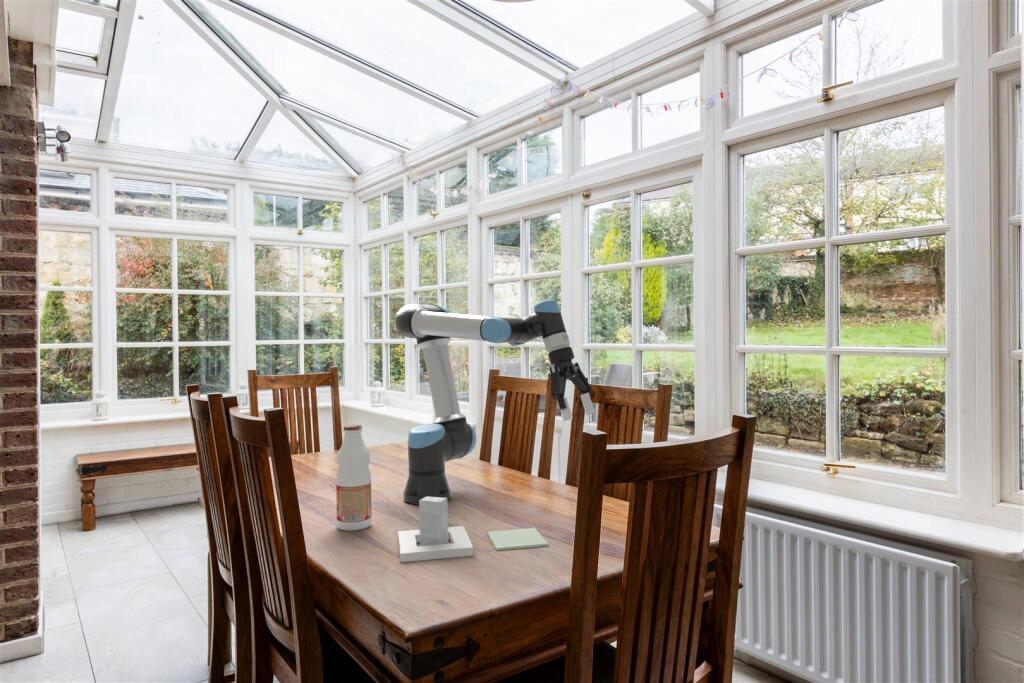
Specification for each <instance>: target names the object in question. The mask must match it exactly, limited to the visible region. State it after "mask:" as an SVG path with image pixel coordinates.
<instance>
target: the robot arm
mask: <svg viewBox="0 0 1024 683" xmlns="http://www.w3.org/2000/svg"><path fill="white" fill-rule="evenodd" d="M533 310H534V312H533V313H531V314H530V315H526V316H524V317H522V318H521V317H520V318H519V317H518V318H516V317H497V316H487V315H486V316H485V315H475V314H474V315H473V314H463V313H452V312H450V311H449V309H447V308H445V307H444V306H442V305H437V304H419V303H417V304H416V303H409V304H406V305H404V306H402V307H401V308H399V310H398V312H396V314H395V318H394V324H395V327H396V330H397V331H398V332H399V333H400V334H401V335H402V336H403V337H405V338H409V339H416V344H417V347H418V348H419V349H421V350H422V353H423V358H424V363H425V369H426V373H427V378H428V385H429V389H430V393H431V399H432V404H433V411H434V415H435V419H433V422H432V423H428V424H421V425H417V426H415V427H413V428H411V429H410V430H409V431H408V437H407V438H408V440H407V448H408V449H407V451H408V452H407V453H408V454H407V456H408V457H407V458H408V459H407V460H408V477H407V480H406V483H405V484H406V485H405V486H404V487H405V488H404V491H403V501H404V502H405V501H406V502H405V503H407V502H409V503H408V504H411V503H414V504H413V505H419V500H421V499H423V498H425V497H440V498H447V501H450V500H451V499H452V496H451V494H452V493H451V492H452V491H451V489H450V485H449V482H448V480H447V476H446V462H450V461H454V460H458V459H462V458H464V457H466V456H468V455H470V454H471V453H472V452H473V451H474V449H475V447H476V443H477V435H476V431H475V428H474V427H473V426H472V425H471V424H470V423H468V422H467V418H466V417H467V416H466V415H465V414H463V413H461V410H460V409H461V408H460V404H459V399H458V394H457V389H456V383H455V379H454V378H455V377H454V373H453V368H452V364H451V363H452V362H451V358H450V352H449V347H448V345H449V343H450V342H451V338H453V339H454V338H455V339H463V340H472V341H482V342H488V343H491V344H504V343H506V344H509V345H510V346H512V347H517V346H520V345H521V346H522V345H524V344H525V343H528V342H531V341H532V340H535V339H537V338H539V337H542V340H543V343H544V347H545V351H546V352H547V355H548V360H549V363H550V365H551V366H549V372H550V388H551V389H550V394H551V395H550V396H551V398H552V399H553V400H554V401H556V400H557V403H558V406H559V409H560V412H561V416H562V418H563V421H564V422H566V421H570V420H573V419H574V417H573V414H572V411H571V407H570V404H569V401H568V397H567V396H565V392H566V388H567V387H566V386H567V380H568V381H570V382H571V383H572V384H573V386H574V387H576V389H577V390H578V391H579V393H580V399H581V403H582V405H583V408H584V409H583V410H584V412H585V415H586V416H589V415H592V414H596V413H595V409H594V406H593V402H592V400H591V396H590V393H591V392H592V387H591V384H590V383H589V381H588V379H587V377H586V376H585V374H584V373H583V371H582V369H581V366H580V364H579V363H578V362H577V361H576V362H574V363H573V362H572V360H574V359H575V355H574V351H573V348H572V347H571V346H570V345H571V342H570V339H569V335H568V332H567V329H566V326H565V322H564V319H563V316H562V311H561V309H560V307H559V304H558V301H556V300H555V299H546V300H541V301H540V302H539V301H538V302H537V303H536V304H534V306H533Z"/></svg>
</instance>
